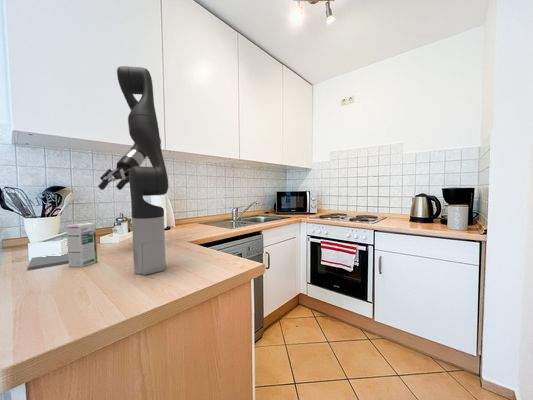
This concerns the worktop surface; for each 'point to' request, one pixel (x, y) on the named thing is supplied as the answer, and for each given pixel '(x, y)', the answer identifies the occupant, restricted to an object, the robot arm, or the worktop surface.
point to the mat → (48, 261)
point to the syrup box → (81, 244)
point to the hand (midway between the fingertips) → (109, 188)
